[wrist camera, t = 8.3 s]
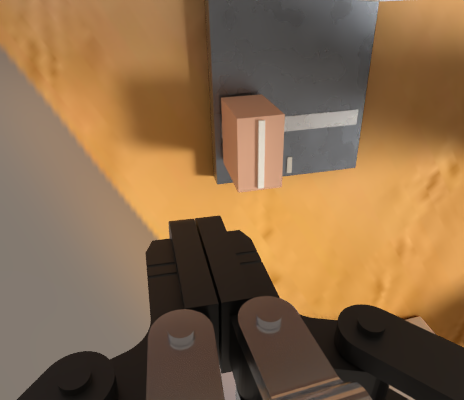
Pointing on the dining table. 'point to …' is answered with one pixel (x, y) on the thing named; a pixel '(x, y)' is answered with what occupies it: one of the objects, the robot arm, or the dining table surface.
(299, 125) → the console board
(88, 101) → the dining table surface
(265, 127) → the fader terracotta
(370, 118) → the dining table surface
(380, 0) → the block
